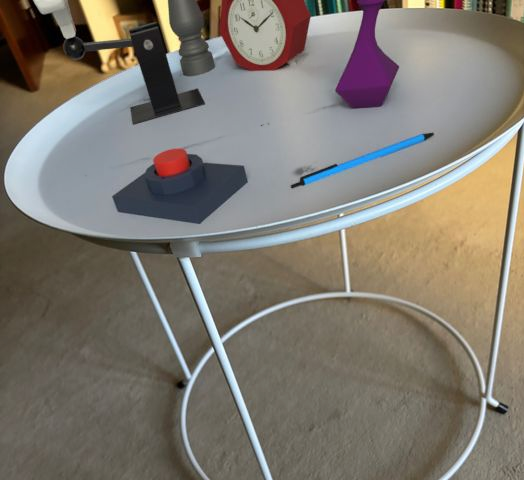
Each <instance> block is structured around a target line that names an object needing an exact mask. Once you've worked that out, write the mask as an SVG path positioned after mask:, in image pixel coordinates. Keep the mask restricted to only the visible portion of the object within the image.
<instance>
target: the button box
mask: <svg viewBox="0 0 524 480" xmlns="http://www.w3.org/2000/svg"><path fill="white" fill-rule="evenodd" d="M187 156H188V159H189V163H190V167H189V168H187V169H186V170H185V171H182V172H180V173H177V174H174V175H169V176H158V174H157V171H156V168H155V165H154V163H153V164H151V165H150V166H149V167H147V168H146V169H145V172H144V173H142V174H141V175H139V176H138V177H136V178H135V179H134V180H132V181H131V182H130V183H128V184H127V185H126V186H124V187H123V188H121V189H120V190H118V191H117V192H116V193H115V194H114V193H113V195H112V196H111V198H112V200H113V203H114V206H115V208H116V210H117V212H118V213H122V214H129V215H136V216H140V217H141V216H142V217H148V218H155V219H162V220H167V221H168V220H170V221H175V222H181V223H182V222H183V223H189V224H196V225H200V224H201V223H203V222H204V221H205V220H207V218H209V216H211V215H212V214H213V213H214V212H216V211H217V210H218V208H220V207H221V206H223V204H225V203H226V202H227V201H228V200H229V199H231V197H233V196H234V195H235V194H236V193H238V191H240V190H241V189H242V188H243V187H244V186H245V185H246V184H248V183H249V182H248V177H247V173H246V172H247V171H246V169H245V165H243V164H242V165H241V164H230V163H229V164H228V163H216V162H214V163H213V162H204V161H203V158H202V157H201V156H199V155H198V154H195V153H194V154H193V153H187Z"/></svg>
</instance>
